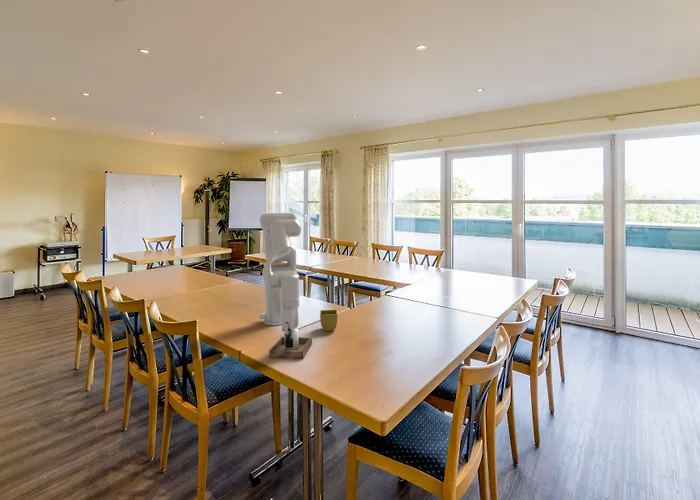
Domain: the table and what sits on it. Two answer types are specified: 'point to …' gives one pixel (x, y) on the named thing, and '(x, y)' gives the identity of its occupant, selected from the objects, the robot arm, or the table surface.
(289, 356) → the tray
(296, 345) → the white upright rounded piece
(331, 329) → the flower pot
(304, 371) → the table surface
